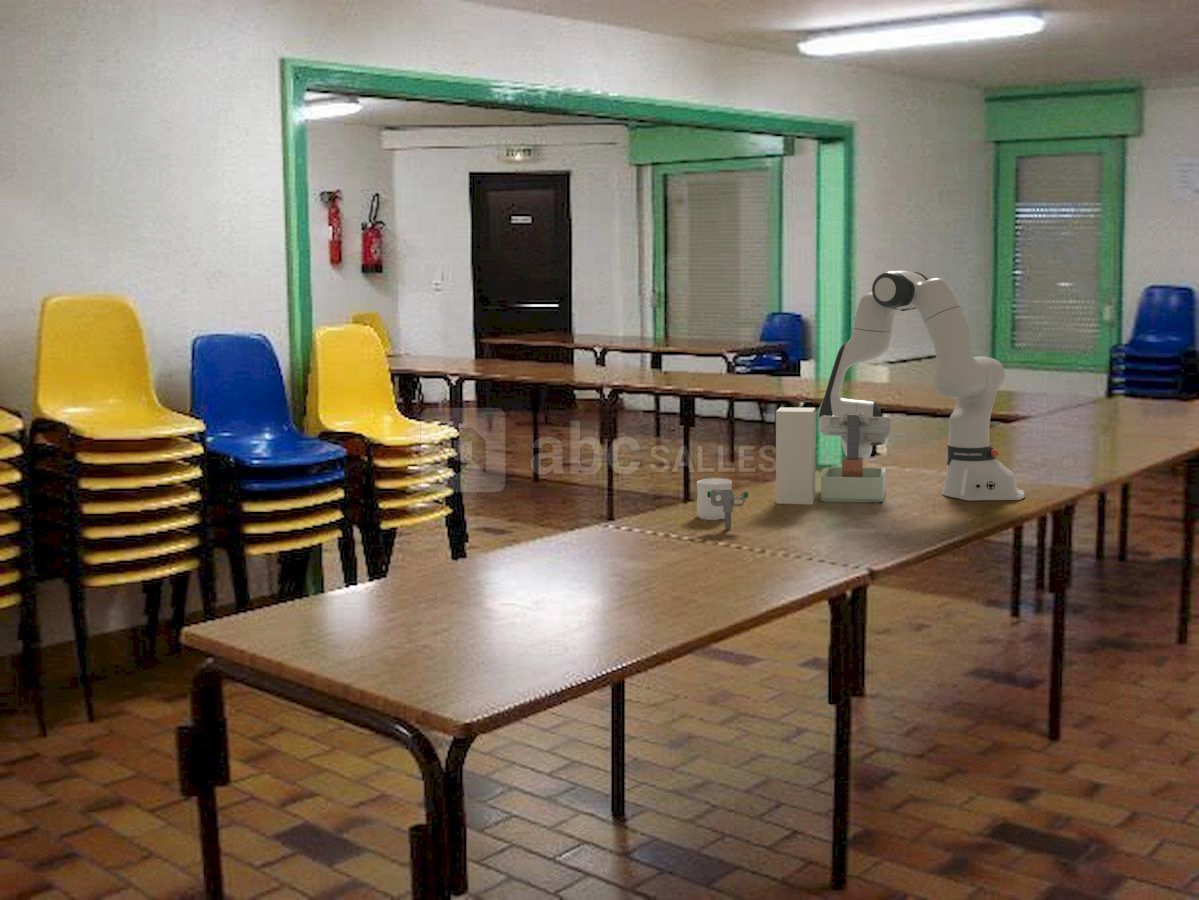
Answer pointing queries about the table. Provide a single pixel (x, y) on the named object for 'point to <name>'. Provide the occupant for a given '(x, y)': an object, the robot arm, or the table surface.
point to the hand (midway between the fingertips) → (853, 415)
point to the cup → (704, 502)
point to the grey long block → (852, 449)
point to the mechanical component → (726, 502)
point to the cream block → (795, 455)
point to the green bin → (853, 486)
